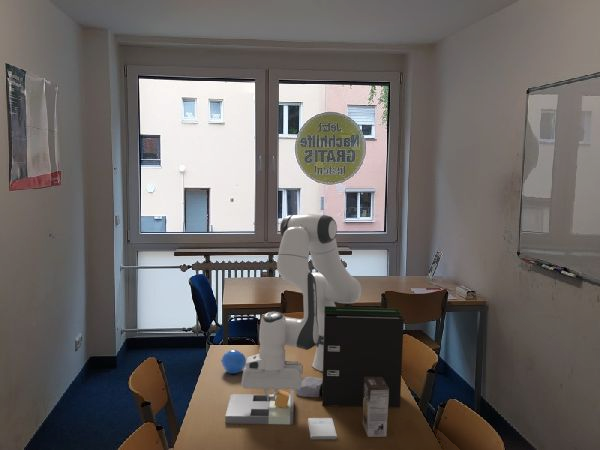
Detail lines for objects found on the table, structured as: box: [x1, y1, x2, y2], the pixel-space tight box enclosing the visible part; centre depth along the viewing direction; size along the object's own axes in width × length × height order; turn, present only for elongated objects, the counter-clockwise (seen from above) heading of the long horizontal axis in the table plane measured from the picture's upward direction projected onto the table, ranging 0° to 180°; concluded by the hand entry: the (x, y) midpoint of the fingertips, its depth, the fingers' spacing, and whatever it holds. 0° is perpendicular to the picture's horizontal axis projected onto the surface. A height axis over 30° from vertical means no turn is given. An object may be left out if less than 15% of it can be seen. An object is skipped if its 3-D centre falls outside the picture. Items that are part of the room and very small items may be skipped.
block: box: [275, 389, 291, 408], centre depth 191 cm, size 4×4×4 cm
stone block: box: [294, 376, 323, 398], centre depth 210 cm, size 12×5×10 cm
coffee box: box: [362, 377, 389, 438], centre depth 179 cm, size 9×6×16 cm
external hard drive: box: [307, 417, 338, 440], centre depth 180 cm, size 2×8×12 cm
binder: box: [321, 306, 405, 408], centre depth 202 cm, size 27×15×32 cm, turn 88°
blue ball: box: [220, 350, 247, 375], centre depth 226 cm, size 10×12×10 cm
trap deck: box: [224, 389, 294, 425], centre depth 191 cm, size 22×17×4 cm
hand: (271, 400), depth 191 cm, fingers closed
